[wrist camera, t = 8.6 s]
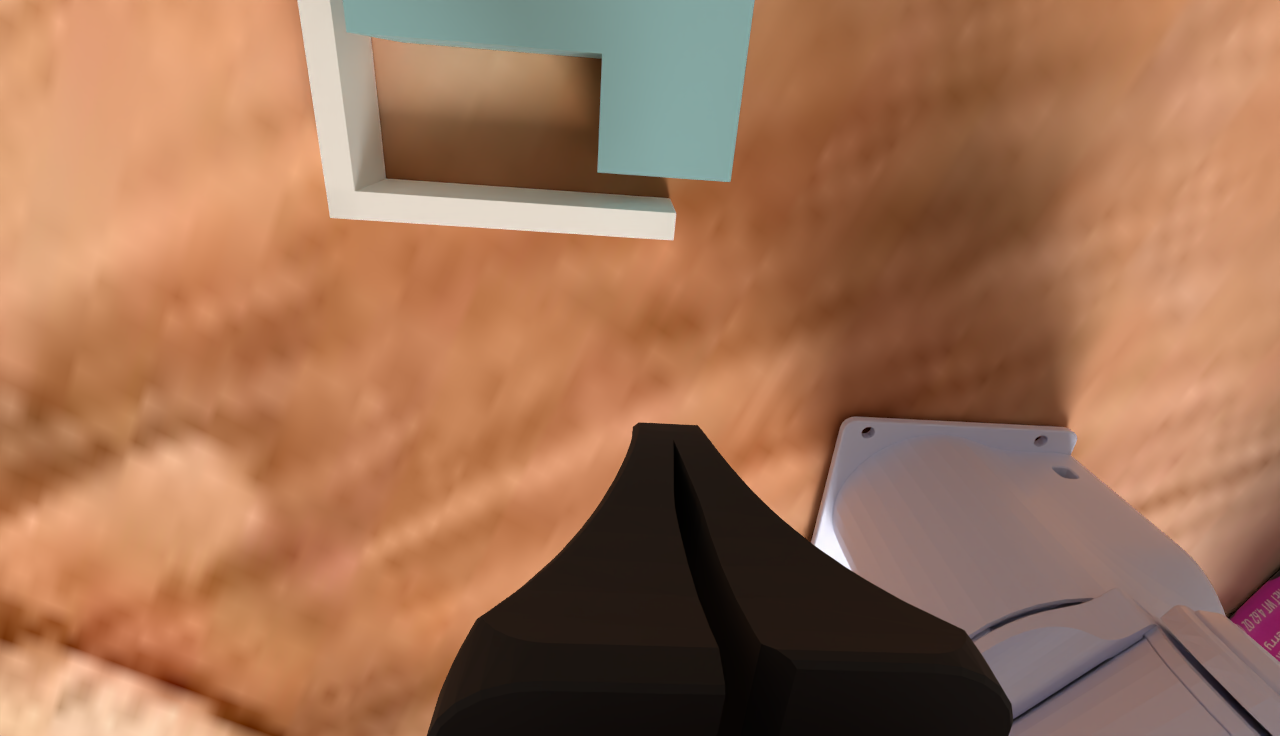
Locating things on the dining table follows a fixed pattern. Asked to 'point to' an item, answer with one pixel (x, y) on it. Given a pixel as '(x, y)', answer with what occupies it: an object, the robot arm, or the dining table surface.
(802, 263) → the dining table surface
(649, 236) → the white u-shaped bracket
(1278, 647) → the candy bar box
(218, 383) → the dining table surface
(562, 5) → the t block
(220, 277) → the dining table surface
